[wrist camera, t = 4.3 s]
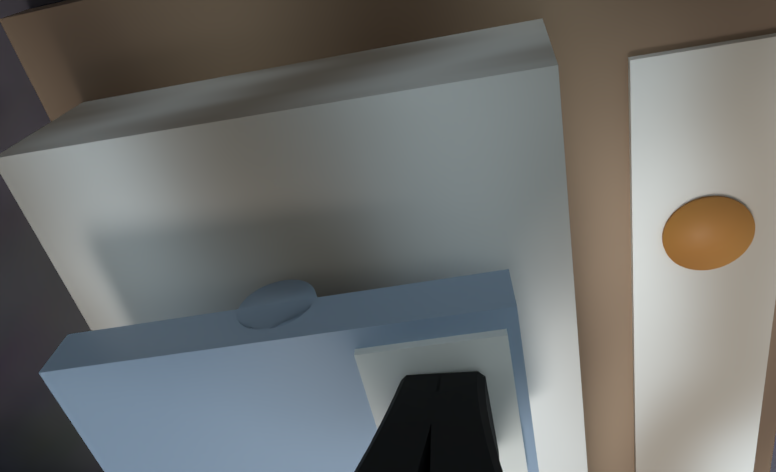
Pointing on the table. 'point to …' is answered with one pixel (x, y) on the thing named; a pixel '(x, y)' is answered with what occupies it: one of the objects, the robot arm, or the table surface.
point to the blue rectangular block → (289, 376)
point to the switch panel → (439, 186)
